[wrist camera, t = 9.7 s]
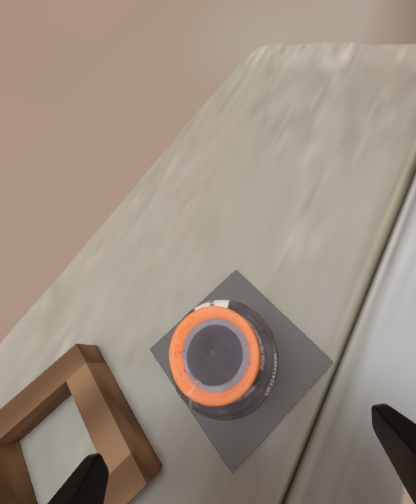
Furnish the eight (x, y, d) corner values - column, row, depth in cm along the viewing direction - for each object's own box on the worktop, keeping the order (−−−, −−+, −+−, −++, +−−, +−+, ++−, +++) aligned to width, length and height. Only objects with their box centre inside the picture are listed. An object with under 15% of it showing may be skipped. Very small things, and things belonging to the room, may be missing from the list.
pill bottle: (205, 317, 22) (161, 278, 12) (271, 324, 21) (285, 287, 10) (195, 391, 19) (130, 421, 9) (270, 404, 18) (286, 455, 8)
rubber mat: (329, 362, 20) (333, 361, 18) (233, 467, 18) (232, 473, 17) (237, 273, 24) (236, 269, 23) (154, 349, 23) (149, 349, 22)
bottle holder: (162, 466, 19) (146, 483, 16) (33, 599, 17) (-9, 643, 14) (96, 345, 24) (76, 343, 21) (-7, 436, 22) (-44, 446, 19)
